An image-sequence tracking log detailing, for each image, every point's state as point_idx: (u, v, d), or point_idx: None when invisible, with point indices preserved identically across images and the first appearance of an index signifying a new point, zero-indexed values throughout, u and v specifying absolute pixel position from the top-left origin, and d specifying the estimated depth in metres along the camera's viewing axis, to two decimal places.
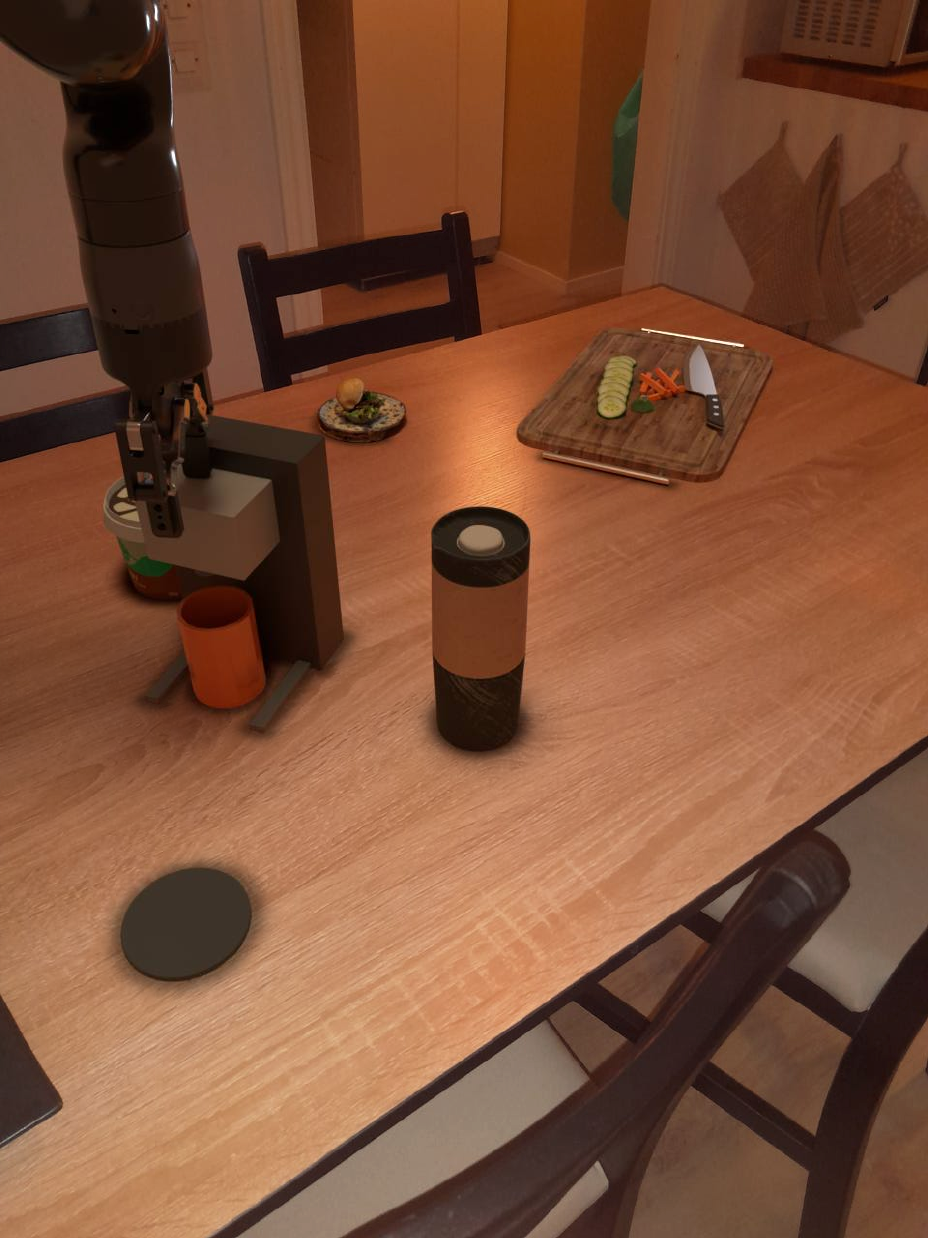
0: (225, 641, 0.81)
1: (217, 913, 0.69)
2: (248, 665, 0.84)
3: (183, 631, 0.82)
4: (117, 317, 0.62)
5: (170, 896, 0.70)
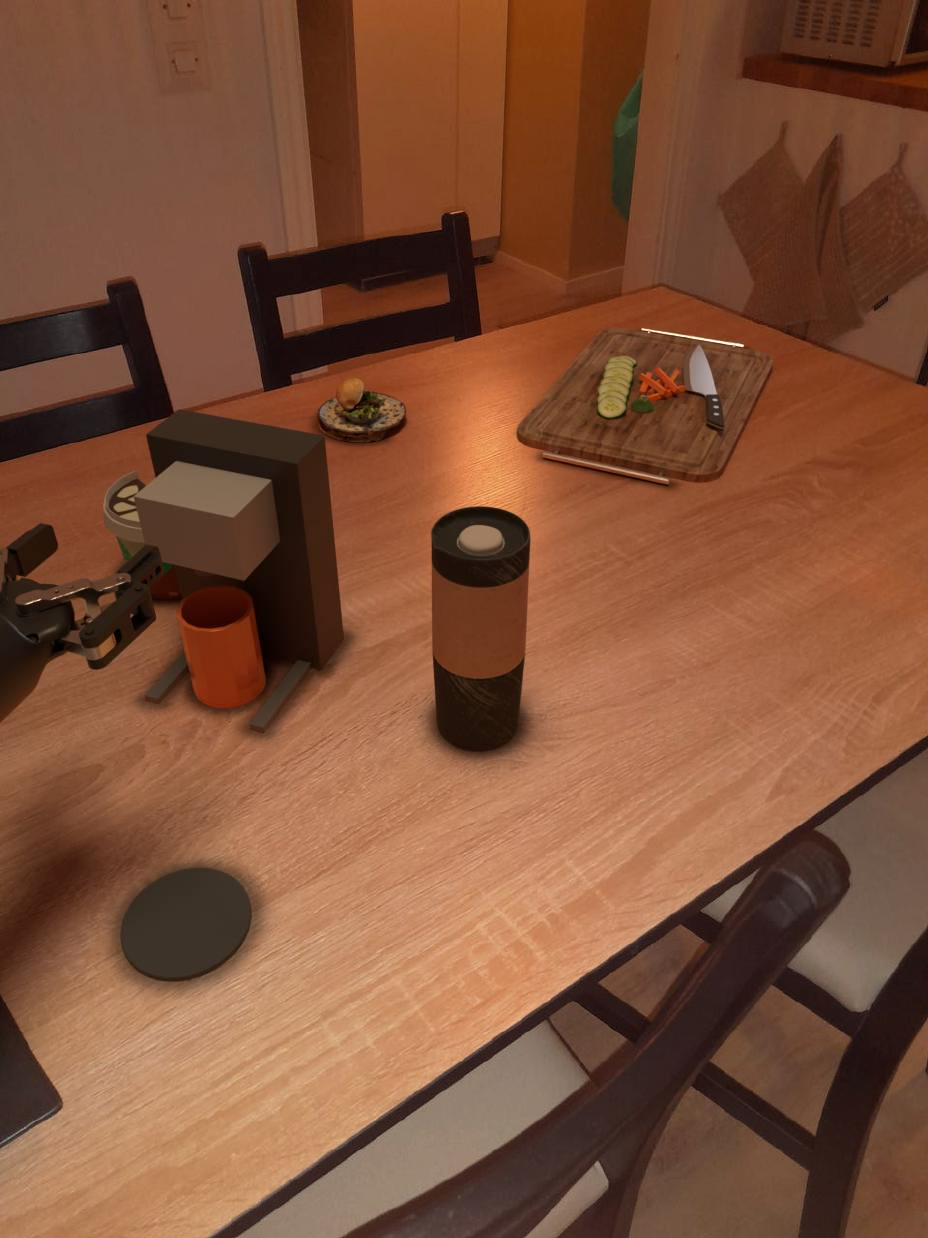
0: (225, 641, 0.81)
1: (217, 913, 0.69)
2: (248, 665, 0.84)
3: (183, 631, 0.82)
4: None
5: (170, 896, 0.70)
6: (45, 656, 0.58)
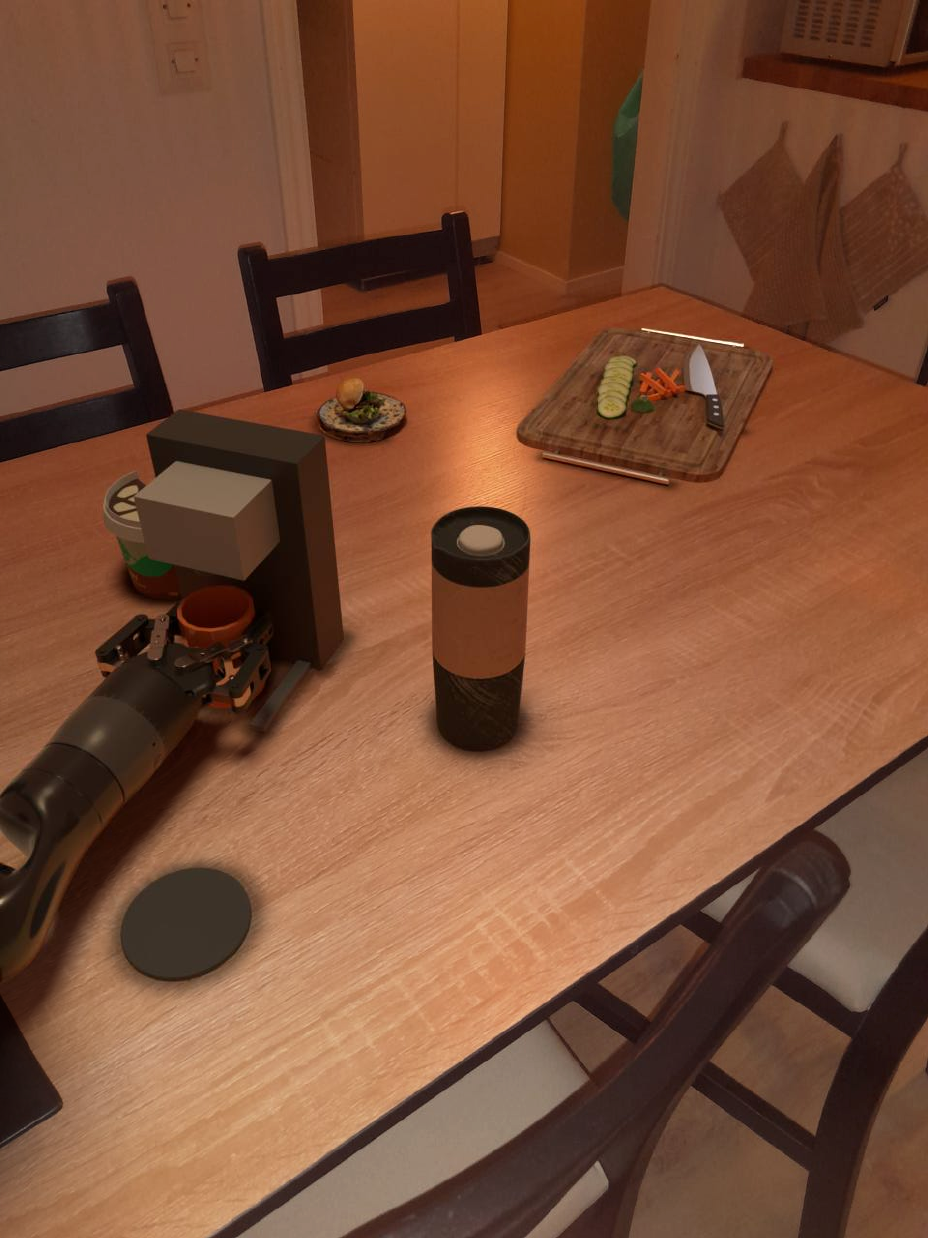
0: (226, 641, 0.81)
1: (217, 913, 0.69)
2: None
3: (183, 631, 0.82)
4: None
5: (170, 896, 0.70)
6: (198, 707, 0.76)
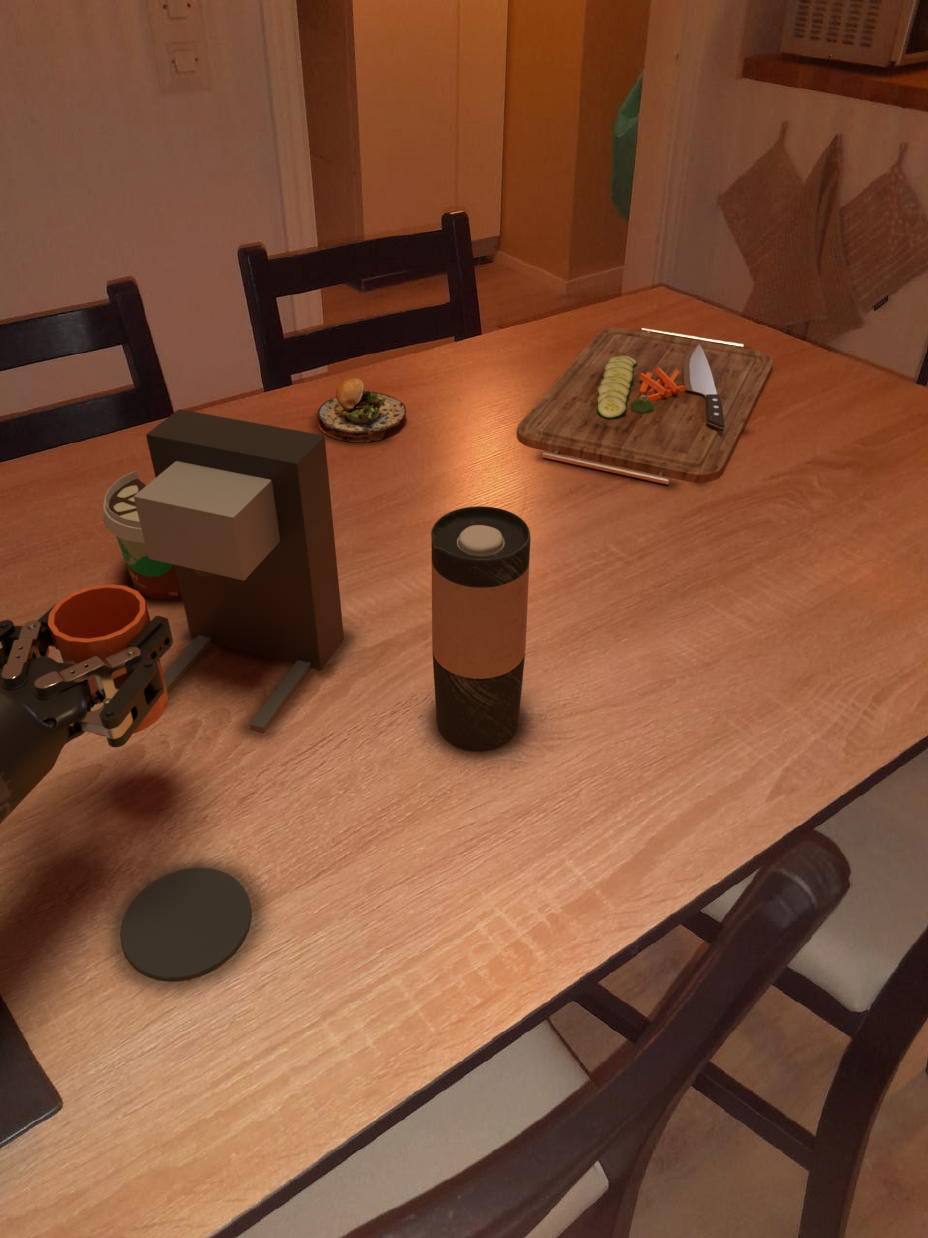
0: (107, 654, 0.65)
1: (217, 913, 0.69)
2: None
3: (55, 641, 0.65)
4: None
5: (170, 896, 0.70)
6: (62, 739, 0.60)
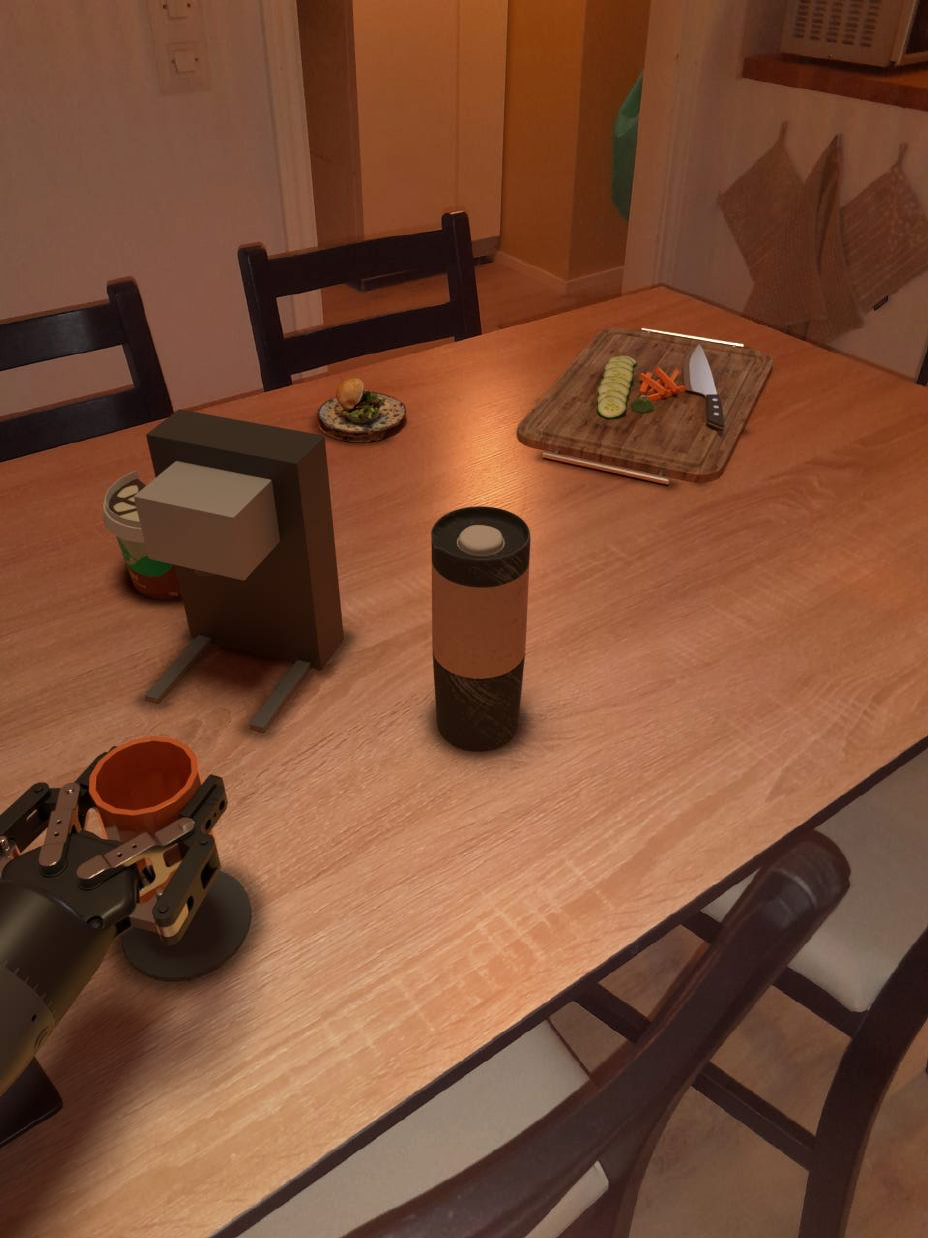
0: (156, 826, 0.57)
1: (217, 913, 0.69)
2: None
3: (97, 810, 0.58)
4: None
5: None
6: (109, 939, 0.52)
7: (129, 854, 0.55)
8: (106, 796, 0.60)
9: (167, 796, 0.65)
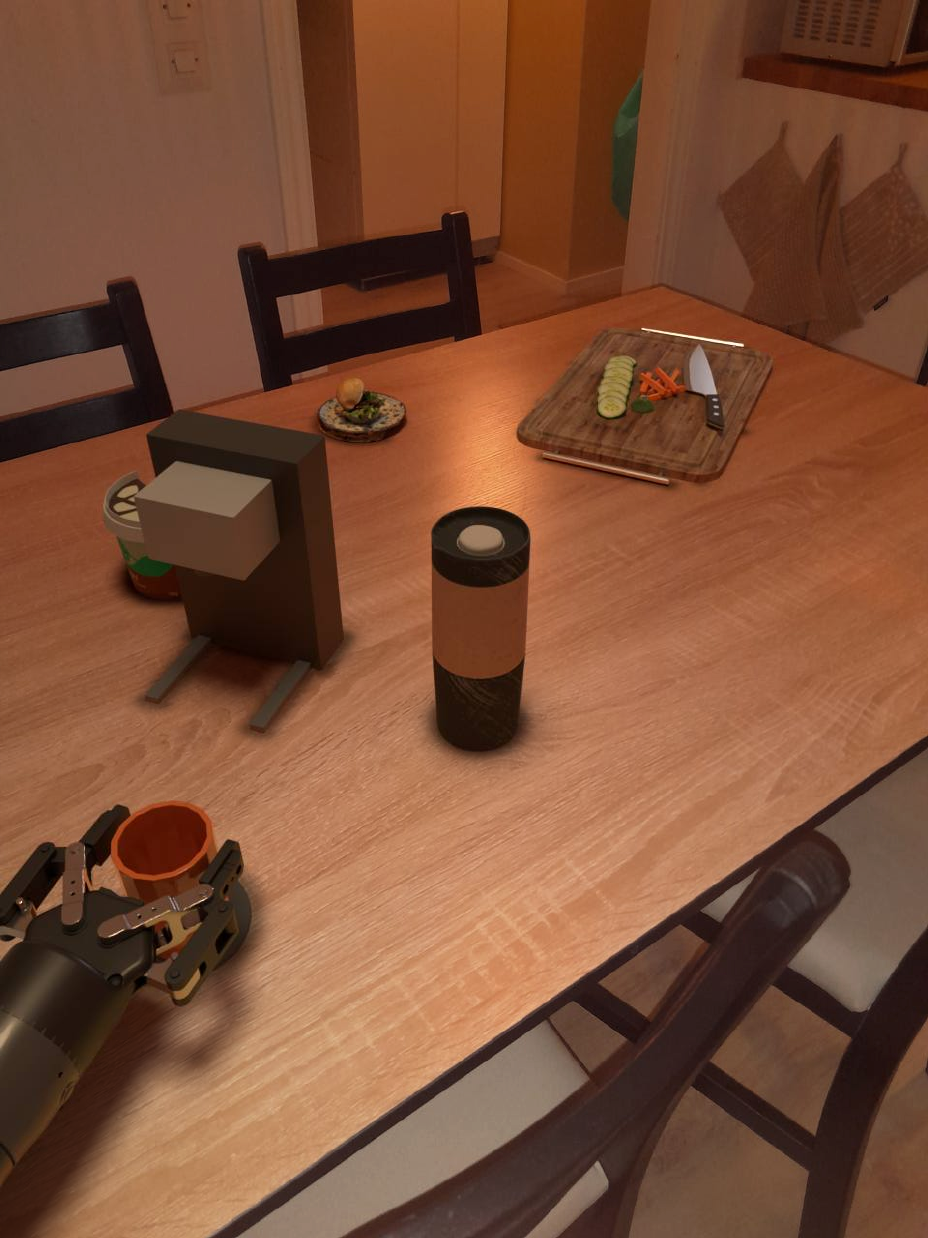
0: (174, 889, 0.61)
1: None
2: None
3: (119, 874, 0.62)
4: None
5: None
6: (129, 995, 0.56)
7: (146, 913, 0.58)
8: (126, 858, 0.64)
9: (183, 854, 0.68)
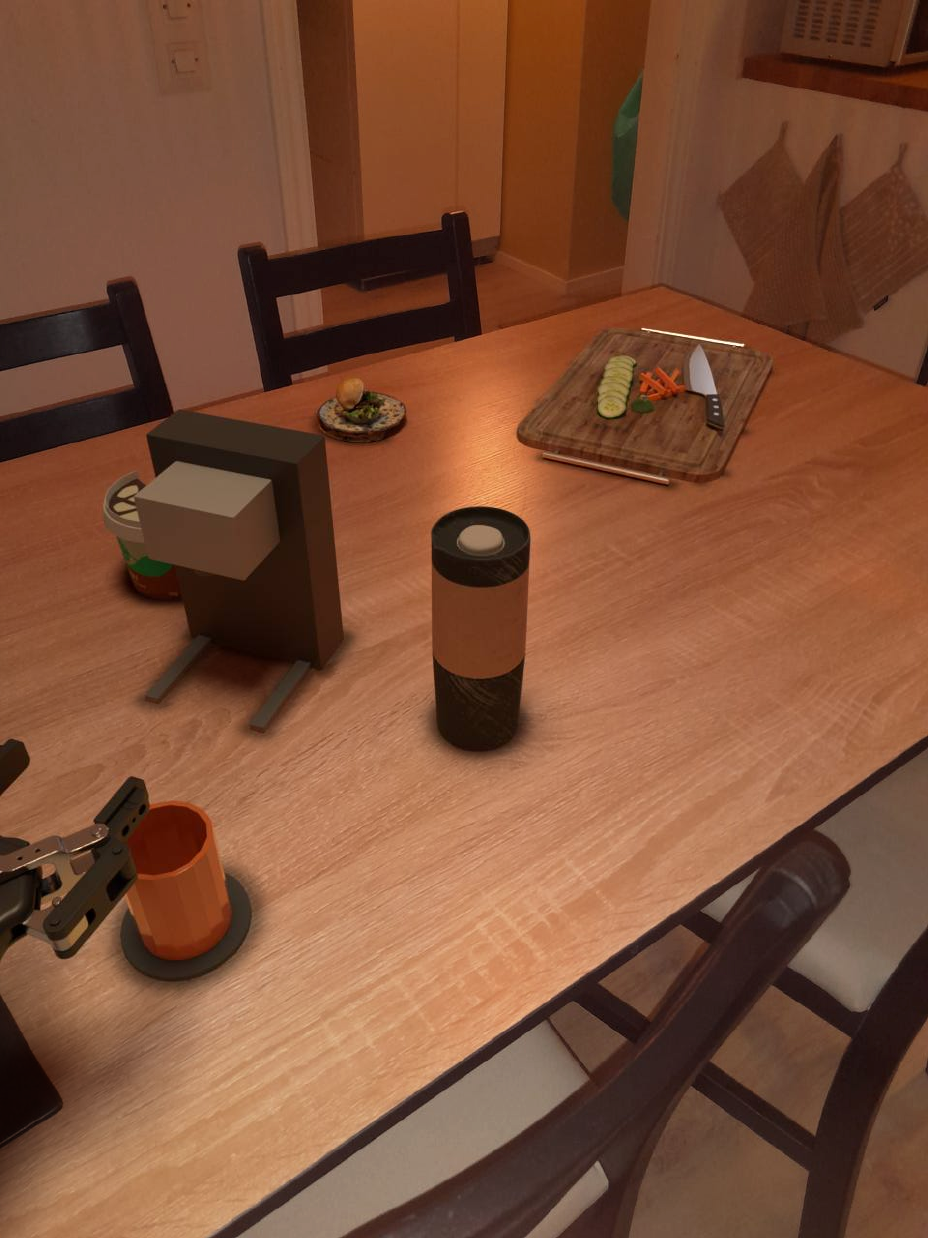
0: (174, 889, 0.61)
1: None
2: (207, 909, 0.64)
3: None
4: None
5: None
6: (4, 945, 0.49)
7: (29, 854, 0.51)
8: None
9: (183, 854, 0.68)
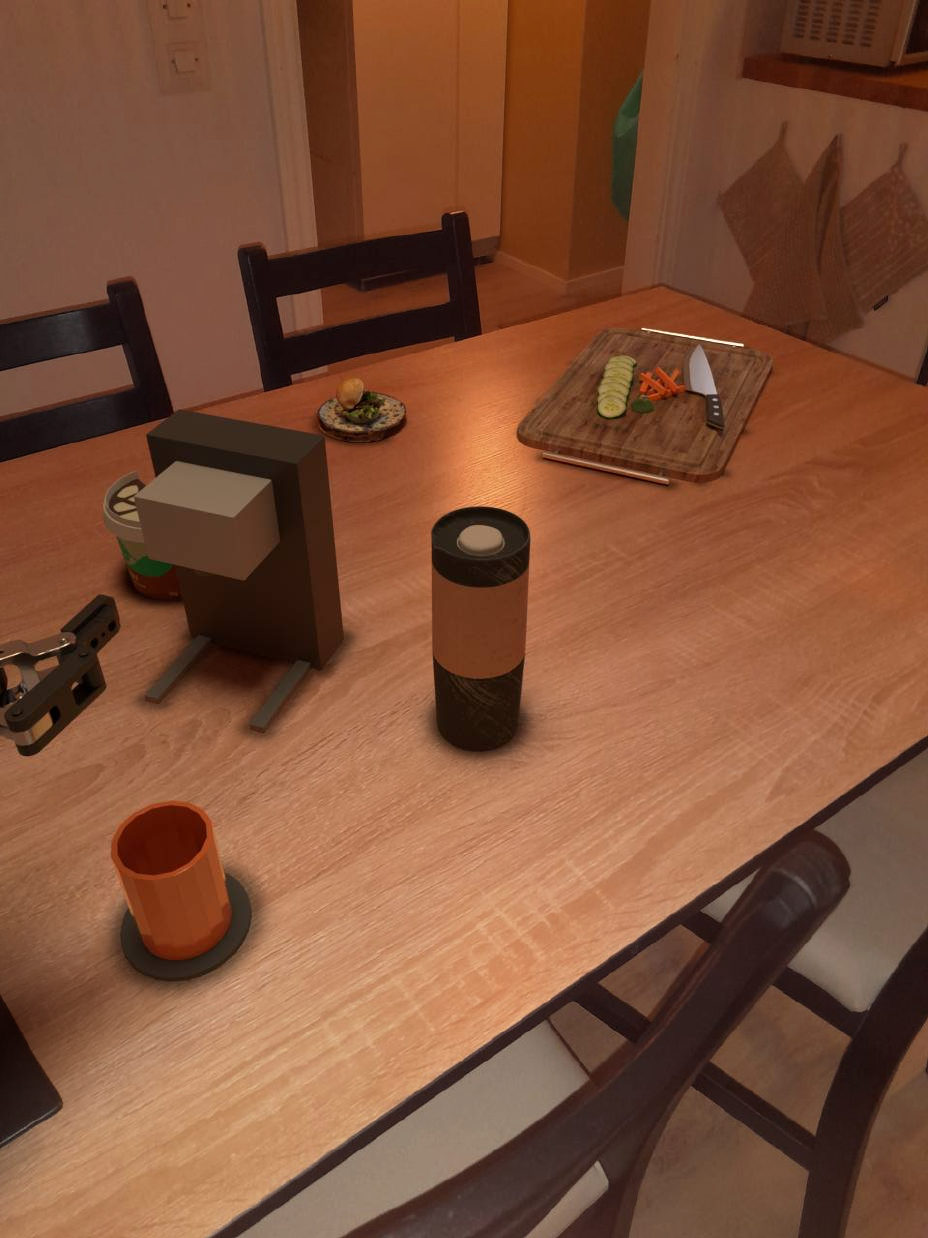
0: (174, 889, 0.61)
1: None
2: (207, 909, 0.64)
3: (119, 874, 0.62)
4: None
5: None
6: None
7: None
8: (126, 858, 0.64)
9: (183, 854, 0.68)
